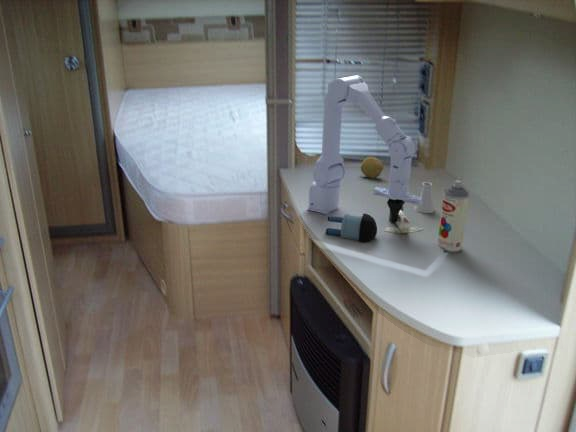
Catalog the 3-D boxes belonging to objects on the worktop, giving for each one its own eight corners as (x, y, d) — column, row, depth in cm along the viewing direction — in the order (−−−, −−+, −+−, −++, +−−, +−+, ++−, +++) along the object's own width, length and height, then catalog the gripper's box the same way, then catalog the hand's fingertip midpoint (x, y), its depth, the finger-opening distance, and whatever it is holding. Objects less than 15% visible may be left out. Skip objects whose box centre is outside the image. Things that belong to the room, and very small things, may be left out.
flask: (435, 217, 190) (439, 188, 186) (412, 215, 191) (415, 186, 187) (435, 209, 196) (438, 181, 193) (412, 207, 198) (415, 179, 194)
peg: (387, 217, 186) (388, 203, 184) (400, 217, 186) (401, 203, 185) (399, 235, 173) (400, 221, 171) (412, 235, 174) (414, 221, 172)
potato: (359, 174, 230) (360, 154, 227) (378, 174, 230) (380, 154, 227) (363, 180, 223) (364, 160, 220) (383, 180, 224) (384, 159, 221)
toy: (326, 241, 177) (376, 247, 173) (320, 234, 169) (372, 241, 165) (330, 213, 179) (380, 220, 174) (325, 206, 171) (377, 212, 166)
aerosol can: (432, 245, 170) (439, 179, 163) (451, 241, 173) (460, 176, 165) (447, 255, 164) (455, 186, 157) (466, 251, 167) (476, 183, 159)
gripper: (370, 177, 173) (366, 220, 178) (417, 188, 166) (412, 232, 171) (380, 171, 178) (376, 213, 183) (426, 181, 171) (421, 224, 176)
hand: (394, 222), depth 178 cm, fingers closed, pressing on peg
